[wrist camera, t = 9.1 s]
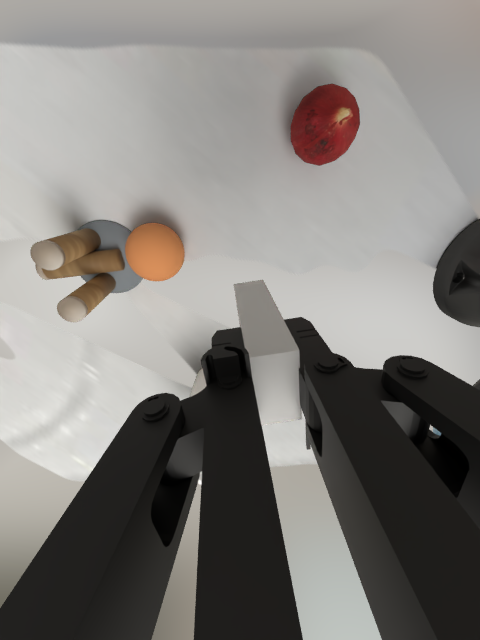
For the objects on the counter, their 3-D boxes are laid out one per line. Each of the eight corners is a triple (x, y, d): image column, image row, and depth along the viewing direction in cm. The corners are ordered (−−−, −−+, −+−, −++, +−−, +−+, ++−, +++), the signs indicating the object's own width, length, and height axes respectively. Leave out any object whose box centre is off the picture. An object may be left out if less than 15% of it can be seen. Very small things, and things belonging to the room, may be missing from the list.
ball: (104, 263, 27) (141, 253, 32) (150, 299, 27) (179, 284, 32) (123, 211, 24) (160, 209, 29) (174, 252, 24) (203, 243, 29)
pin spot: (161, 255, 31) (160, 256, 31) (121, 305, 34) (121, 305, 33) (95, 203, 28) (94, 203, 28) (57, 261, 31) (56, 262, 30)
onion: (313, 179, 29) (344, 176, 22) (271, 144, 27) (291, 127, 20) (349, 126, 27) (397, 103, 20) (307, 84, 25) (343, 42, 18)
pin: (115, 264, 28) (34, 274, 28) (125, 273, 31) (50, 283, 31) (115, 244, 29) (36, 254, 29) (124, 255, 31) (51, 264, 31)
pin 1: (105, 238, 30) (67, 255, 22) (94, 254, 31) (53, 275, 23) (85, 223, 29) (38, 235, 21) (74, 240, 30) (25, 257, 22)
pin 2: (120, 281, 32) (90, 309, 24) (109, 294, 33) (76, 326, 25) (102, 268, 31) (65, 293, 24) (91, 282, 32) (52, 311, 24)
